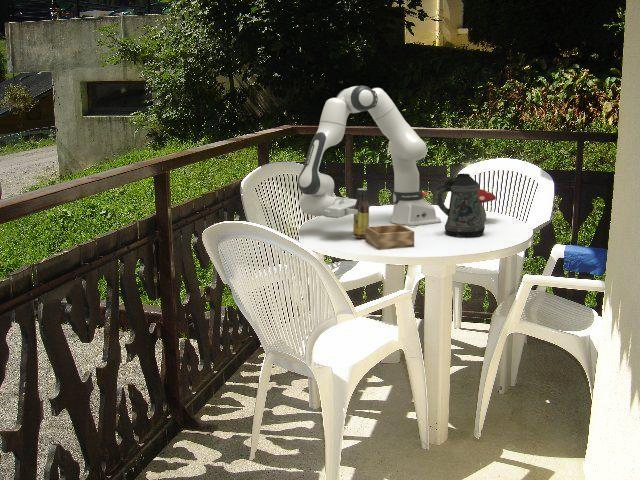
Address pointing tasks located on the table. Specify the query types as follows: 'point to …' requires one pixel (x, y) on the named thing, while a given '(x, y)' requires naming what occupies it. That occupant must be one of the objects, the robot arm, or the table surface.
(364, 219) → the sauce bottle
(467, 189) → the beer stein
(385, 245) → the crate
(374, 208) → the table surface
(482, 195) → the decorative mushroom
